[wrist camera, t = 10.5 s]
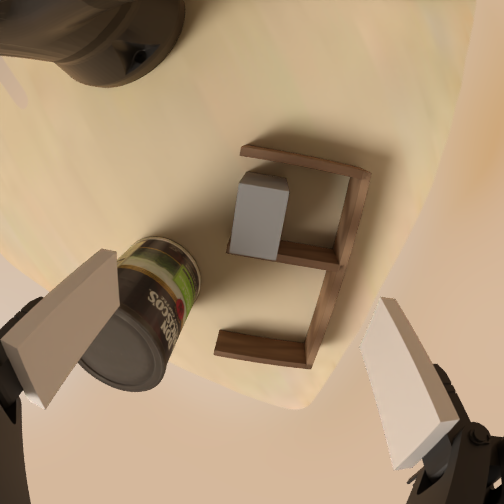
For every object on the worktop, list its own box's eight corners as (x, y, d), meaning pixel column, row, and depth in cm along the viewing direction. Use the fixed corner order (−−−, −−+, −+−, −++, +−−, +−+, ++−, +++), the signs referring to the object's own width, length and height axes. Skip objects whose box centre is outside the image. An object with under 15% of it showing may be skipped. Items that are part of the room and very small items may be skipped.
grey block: (246, 171, 30) (238, 183, 23) (285, 178, 30) (289, 191, 23) (238, 227, 32) (229, 252, 26) (275, 233, 32) (275, 260, 26)
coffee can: (190, 230, 33) (140, 296, 20) (209, 309, 36) (180, 396, 23) (112, 241, 34) (43, 300, 21) (136, 312, 38) (88, 386, 25)
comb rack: (245, 144, 29) (241, 146, 25) (359, 167, 29) (371, 173, 25) (219, 334, 38) (213, 355, 34) (308, 348, 38) (310, 369, 34)
